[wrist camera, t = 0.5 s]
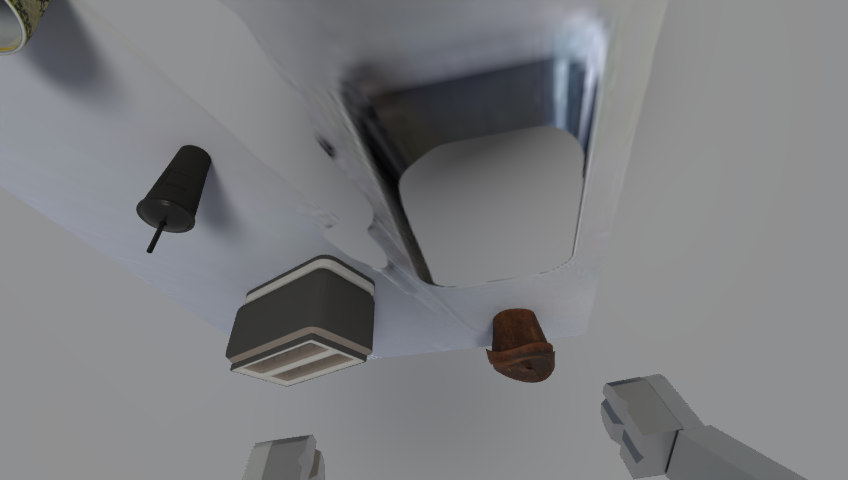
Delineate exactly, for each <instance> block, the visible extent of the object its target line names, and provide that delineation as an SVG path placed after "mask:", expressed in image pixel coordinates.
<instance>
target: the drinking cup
mask: <svg viewBox="0 0 848 480" xmlns="http://www.w3.org/2000/svg"><path fill="white" fill-rule="evenodd" d="M210 163H211V158H210V156H209V155H208V153H207V152H206V151H204V150H203V149H201V148H199V147H197V146H193V145H186V146H183V147H181V148H180V150H179V151H178V153H177V154H176V155H175V157H174V158H173V160H172V161H171V162H170V164H169V165H168V166H167V168H166V169H165V171H164V172H163V173H162V175H161V176H160V177H159V179H158V180H157V182H156V183H155V184H154V186H153V187H152V189H151V190H150V191H149V193H148V194H147V195H146V197H145V198H144V199H143V200H141V201H140V202H139V203H138V205H137V207H136V211H137V214H138V215H139V217H140V218H141V219H142V220H143V221H144V222H146V223H147V224H149V225H150V226H152V227H154V228H157V231H156V233H155V235H154V237H153V239H152V241H151V243H150V245H149V247H148V249H147V252H148V253H152V252H153V250H154V247H155V245H156V243H157V241H158V239H159V237H160V235H161V233H162V231H166V232H172V233H183V232H187V231H189V230H191V229H192V228H193V227H194V225H195V215H196V212H197V208H198V205H199V201H200V198H201V194H202V191H203V187H204V184H205V180H206V177H207V173H208V170H209V166H210Z"/></svg>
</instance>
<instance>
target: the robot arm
mask: <svg viewBox="0 0 848 480" xmlns="http://www.w3.org/2000/svg"><path fill="white" fill-rule="evenodd" d="M603 394H604V395H605V397H606V399H605V400H604V401H603V402H602V403H601V415H602V419H603V423H604V426H605V428H606V430H607V432H608V434H609V436H610V438H611V439H612V440H614V441H615V442H617V443H618V444H620V445H621V449H620V456H621V458H622V459H623V461H624V463H625V465H626V467H627V468H628V470H629V472H630V474H631V475H632V477H633V479H637V478H644V477H651V476H658V475H664V474H666V477H668V478H669V479H670V480H807V479H805V478H804V477H802V476H800V475H798V474H797V473H795V472H793V471H791V470H789V469H788V468H786V467H784V466H782V465H780V464H779V463H777V462H775V461H773V460H772V459H770V458H768V457H766V456H764V455H763V454H761V453H759V452H757V451H756V450H754V449H752V448H750V447H748V446H747V445H745V444H743V443H741V442H740V441H738V440H736V439H734V438H732V437H731V436H729V435H727V434H725V433H724V432H722V431H720V430H718V429H716V428H715V427H713V426H711V425H709V426H704V424H703V423H702V422H701V421H700V419H699V418H698V417H697V416H696V414H695V413H694V412H693V411H692V410H691V408H690V407H689V406H688V405H687V403H686V402H685V401H684V400H683V399H682V397H681V396H680V395H679V394H678V392H677V391H676V390H675V389H674V387H673V386H672V385H671V384H670V383H669V382H668V380H667V379H666V378H665V377H664V376H663V375H661V374H656V375H651V376H646V377H637V378H632V379H626V380H621V381H616V382H611V383H606V384H605V385H604V388H603ZM315 447H316V440H315V438H314V436H313V435H306V436H299V437H293V438H287V439H279V440H273V441H267V442H260V443H256V444H255V446H254V447H253V449H252V450H251V454H250V457H249V460H248V463H247V466H246V470H245V473H244V476H243V479H242V480H325V464H324V459H323V456H322V454H321V452H320V451H318V450H316V449H315Z"/></svg>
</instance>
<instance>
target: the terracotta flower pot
mask: <svg viewBox="0 0 848 480" xmlns="http://www.w3.org/2000/svg"><path fill="white" fill-rule="evenodd" d="M486 351H487V355H488V359H489V362H490V363H491V364H493V367H494V369H495V370H496V371H498V372H500V373H501V374H503V375H505V376H507V377H509V378H512V379H515V380H519V381H522V382H531V383H534V382H541V381H543V380H545V379H547V378H548V377H549V376H550V375H551V373H552V372H553V370H554V367H555V351H554V352H553V346H552V345H551V344H550V343H547V340H546V338H545V336H544V334H543V332H542V329H541V327H540V325H539V323H538V321H537V318H536V316H535V314H534V312H533V311H531V310H527V309H510V310H505V311H503V312H500V313H499V314H498V315H496V316H495V318H494V321H493V341H492V351H489V350H487V349H486Z"/></svg>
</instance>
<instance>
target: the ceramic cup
mask: <svg viewBox="0 0 848 480" xmlns="http://www.w3.org/2000/svg"><path fill="white" fill-rule="evenodd" d="M50 2H51V0H0V55H10V54H14V53H16V52H18V51H20V50H21V49H22V48H23V47H24V46H25V44H26V43H27V42H28V40H29V39H30V38H31V36H32V34H33V33H34V31H35V29H36V28H37V25H38V23H39V20H40V18H41V17H42V15H43V14H44V12H45V10H46V9H47V7H48V5H49V3H50Z"/></svg>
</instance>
